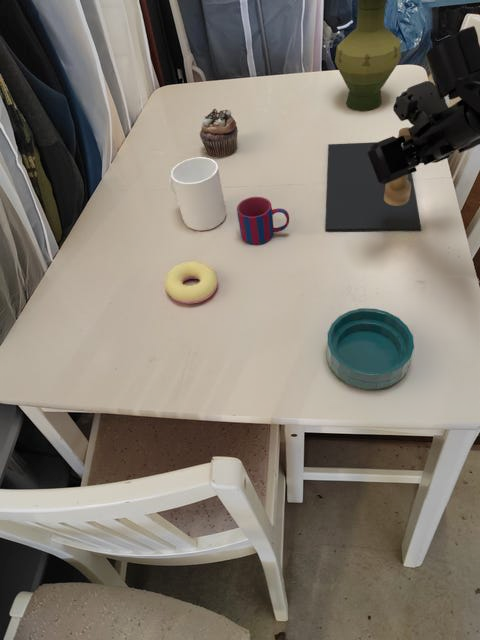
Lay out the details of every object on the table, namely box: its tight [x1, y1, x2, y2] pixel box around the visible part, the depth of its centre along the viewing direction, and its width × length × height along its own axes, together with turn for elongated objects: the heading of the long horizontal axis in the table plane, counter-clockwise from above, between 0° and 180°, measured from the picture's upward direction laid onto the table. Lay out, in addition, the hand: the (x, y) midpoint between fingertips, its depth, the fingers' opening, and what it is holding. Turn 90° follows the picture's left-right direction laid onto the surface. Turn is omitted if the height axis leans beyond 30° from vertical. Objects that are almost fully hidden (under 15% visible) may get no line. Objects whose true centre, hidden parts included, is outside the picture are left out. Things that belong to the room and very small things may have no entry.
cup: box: [236, 196, 290, 246], centre depth 87 cm, size 7×10×7 cm
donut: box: [164, 260, 219, 305], centre depth 82 cm, size 10×5×9 cm
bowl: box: [326, 307, 415, 390], centre depth 67 cm, size 12×12×4 cm
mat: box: [324, 141, 422, 233], centre depth 96 cm, size 18×32×1 cm, turn 172°
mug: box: [169, 156, 227, 231], centre depth 92 cm, size 10×12×12 cm
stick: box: [384, 126, 414, 206], centre depth 77 cm, size 4×4×13 cm
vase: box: [334, 0, 402, 112], centre depth 109 cm, size 16×16×30 cm
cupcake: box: [199, 108, 239, 159], centre depth 110 cm, size 10×10×10 cm
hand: (396, 163), depth 78 cm, fingers closed on stick, 2 cm apart
